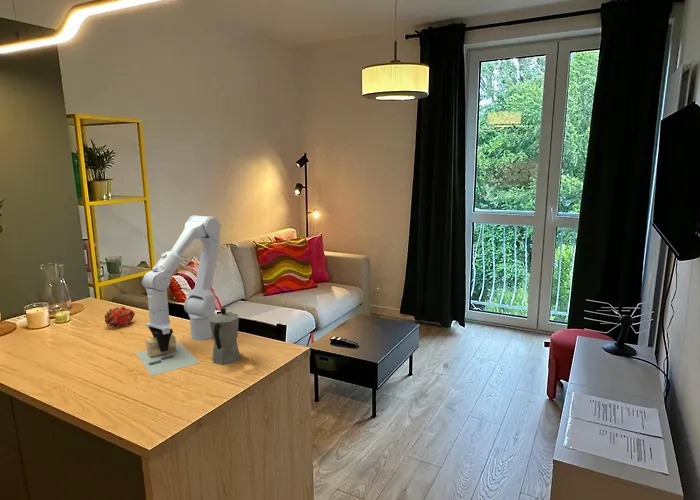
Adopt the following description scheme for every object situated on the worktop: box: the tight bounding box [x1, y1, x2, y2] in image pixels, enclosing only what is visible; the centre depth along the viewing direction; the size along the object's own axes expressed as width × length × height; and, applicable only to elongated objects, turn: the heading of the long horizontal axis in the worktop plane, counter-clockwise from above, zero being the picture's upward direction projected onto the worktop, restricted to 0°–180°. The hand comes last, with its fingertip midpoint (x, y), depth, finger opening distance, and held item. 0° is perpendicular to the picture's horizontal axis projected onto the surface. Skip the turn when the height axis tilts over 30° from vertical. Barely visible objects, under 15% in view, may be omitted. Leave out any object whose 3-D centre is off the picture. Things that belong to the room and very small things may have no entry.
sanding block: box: [145, 333, 177, 358], centre depth 146 cm, size 8×4×5 cm, turn 127°
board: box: [135, 342, 200, 377], centre depth 143 cm, size 14×20×2 cm
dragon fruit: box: [104, 306, 136, 329], centre depth 175 cm, size 8×8×12 cm
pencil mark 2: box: [161, 355, 174, 360], centre depth 142 cm, size 4×1×1 cm, turn 127°
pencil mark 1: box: [149, 360, 162, 365], centre depth 139 cm, size 4×1×1 cm, turn 127°
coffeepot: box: [209, 307, 241, 366], centre depth 139 cm, size 15×9×18 cm, turn 0°
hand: (162, 348), depth 146 cm, fingers closed on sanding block, 4 cm apart
